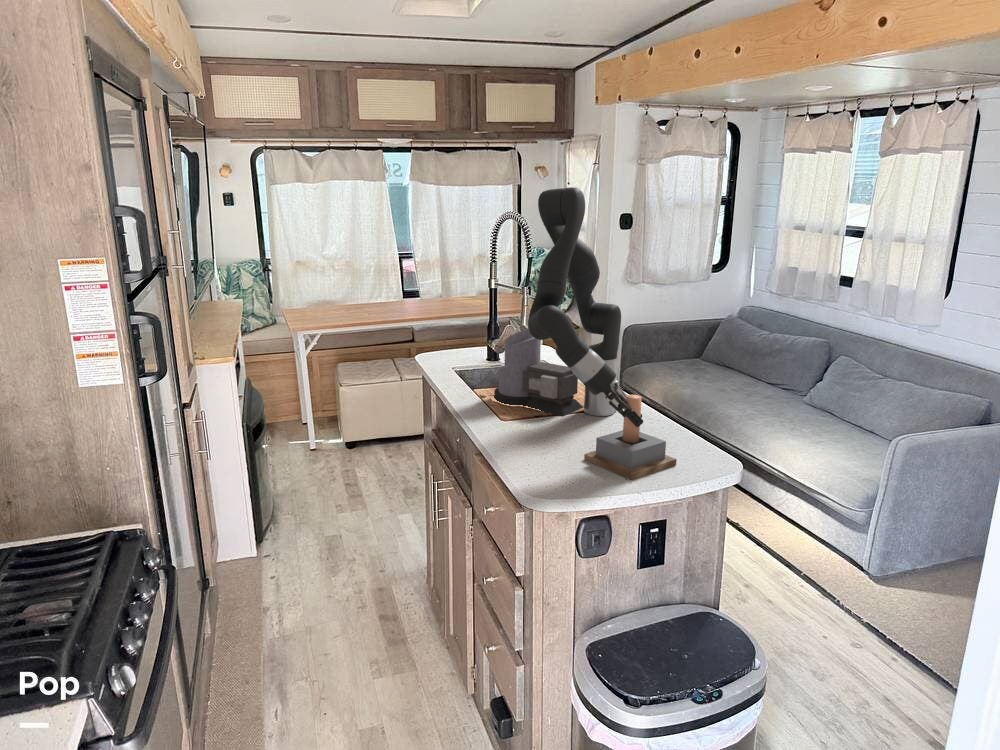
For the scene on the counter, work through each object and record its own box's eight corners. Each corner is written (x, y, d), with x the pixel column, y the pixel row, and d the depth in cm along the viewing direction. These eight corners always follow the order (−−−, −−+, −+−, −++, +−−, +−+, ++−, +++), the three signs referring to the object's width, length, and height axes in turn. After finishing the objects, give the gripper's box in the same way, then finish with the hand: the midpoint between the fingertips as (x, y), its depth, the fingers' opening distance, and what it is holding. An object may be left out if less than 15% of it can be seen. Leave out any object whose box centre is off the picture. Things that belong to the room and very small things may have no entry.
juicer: (480, 400, 229) (480, 325, 223) (510, 389, 242) (511, 318, 235) (559, 418, 212) (562, 337, 205) (587, 406, 224) (590, 329, 218)
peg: (630, 435, 179) (632, 393, 177) (642, 440, 176) (645, 397, 173) (619, 439, 177) (621, 396, 174) (631, 443, 174) (633, 400, 171)
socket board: (628, 446, 189) (628, 441, 189) (676, 464, 177) (676, 459, 176) (584, 459, 180) (584, 453, 179) (631, 479, 167) (631, 473, 167)
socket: (628, 444, 186) (629, 428, 185) (664, 458, 177) (666, 441, 176) (595, 454, 179) (596, 437, 178) (631, 469, 170) (632, 451, 169)
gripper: (604, 368, 166) (654, 420, 167) (603, 354, 179) (650, 403, 181) (580, 389, 168) (629, 441, 169) (581, 374, 181) (627, 422, 183)
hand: (639, 421), depth 175 cm, fingers closed on peg, 4 cm apart
